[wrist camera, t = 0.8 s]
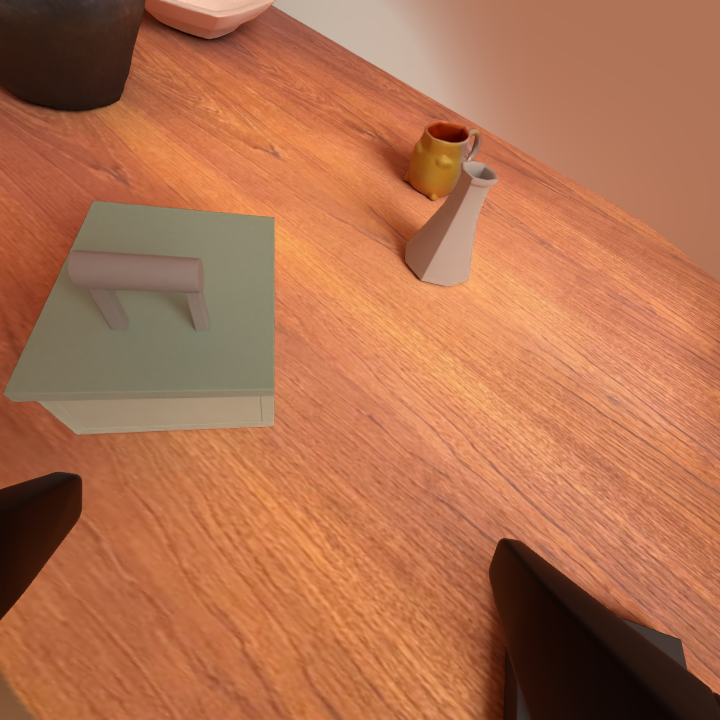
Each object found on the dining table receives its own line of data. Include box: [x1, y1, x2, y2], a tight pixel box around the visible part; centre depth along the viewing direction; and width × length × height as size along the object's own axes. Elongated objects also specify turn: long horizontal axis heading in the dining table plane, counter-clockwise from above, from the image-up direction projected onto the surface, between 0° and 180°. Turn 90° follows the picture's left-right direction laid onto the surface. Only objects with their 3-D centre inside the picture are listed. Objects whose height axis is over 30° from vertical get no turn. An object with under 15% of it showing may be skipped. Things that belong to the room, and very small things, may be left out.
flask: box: [405, 160, 498, 287], centre depth 33 cm, size 7×7×10 cm
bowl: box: [145, 0, 276, 39], centre depth 58 cm, size 22×23×6 cm
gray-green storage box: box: [37, 266, 275, 435], centre depth 24 cm, size 14×12×6 cm
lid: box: [3, 201, 275, 402], centre depth 19 cm, size 14×12×5 cm
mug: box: [403, 120, 482, 201], centre depth 45 cm, size 12×7×7 cm, turn 129°
